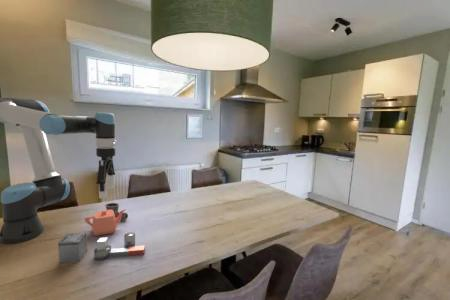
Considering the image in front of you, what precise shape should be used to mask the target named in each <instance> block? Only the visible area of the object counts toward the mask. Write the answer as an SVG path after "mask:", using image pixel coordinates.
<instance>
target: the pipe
mask: <svg viewBox="0 0 450 300" xmlns="http://www.w3.org/2000/svg"><path fill="white" fill-rule="evenodd" d="M104 206H105V210H113V211H114V214H115V217H116V218H117V217H118V216H119V213H120V211H119V206H120V204H119V203H117V202H109V203H105V205H104ZM128 218H129V215H128V213H127V212H123V213H122V216H121V220H122V221H123V220H126V221H127V219H128Z"/></svg>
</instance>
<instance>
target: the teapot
mask: <svg viewBox="0 0 450 300" xmlns="http://www.w3.org/2000/svg"><path fill="white" fill-rule="evenodd" d="M125 211H127V209H126V208H125V209H121V210H120V211H119V212H120V213H119V216H118V217H117V218H116V217H115V214H114V211H113V210H107V209H102V210H99V211H95V213H94V215H93V216H91V215H90V216H87V217H85V218H84V221H85V223H86V224H87V225H89V226H91V231H92V233H93V235H94V236H97V237H99V236H104V235H108V234H114V233H115V231H116V229H117V224H119V223H120V222H121V220H122V219H121V216H122V213H125ZM90 220H92V222H91V221H90Z"/></svg>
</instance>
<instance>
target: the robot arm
mask: <svg viewBox="0 0 450 300" xmlns="http://www.w3.org/2000/svg"><path fill="white" fill-rule="evenodd" d="M115 120H116V119H115V114H114V113H112V112H95V116H89V115H88V116H87V115H62V114H61V115H60V114H56V113H51V112H50V110H49V108H48V107H47V105H46V104H45V103H43V102H42V101H40V100H35V99H29V98H28V99H27V98H15V97H0V123H1V124H2V123H3V124H15V125H16V127H17V129H19V130H20V131H22V134H23V135H22V136H23V139H24V141H25V146H26V150H27V152H28V153H27V154H28V156H29V160H30V162H31V166H32V170H33V173H34V178H33V180H32V182H22V183H16V184H13V185H10V186H8V187H6V188H4V189H3V190H2V191H1V193H0V203H1V204H0V205H1V211H2V214H1V215H2V221H3V222H2V226H1V228H0V243H2V244H16V243H21V242H25V241H28V240H31V239H33V238H36V237H38V236H39V235H41V234H42V233H43V232H44V224H43V222H41V220H40V217H39V216H38V209H39V208H44V207H46V206H49V205H53V204H55V203H59V202H61V201H64V200H65V199H66V198H67V197H68V196H69V194H70V191H71V190H70V189H71V187H70V183H69V181H68V180H67V179H66V178H64V177H62V175H61V174H60V173H58V172H57V170H56V167H55V164H54V159H53V156H52V152H51V149H50V145H49V142H48V138H47V135H52V136H53V135H55V136H57V135H67V134H69V135H71V134H73V135H74V134H95V146H96V149H95V150H96V154H95V155H96V156H97V157H99V158H101V159H99V160H98V170H97V179H96V181H97V182H95V183H96V185H98V199H107V196H108V195H107V189H108V190H110V189H112V190H113V189H114V188H115V187H114V182H115V179H114V176H115V175H116V172H115V167H114V159H113V157H115V156H116V148H115V146H116V143H117V140H116V138H115V137H116V136H115V135H116V131H115V129H116V122H115Z"/></svg>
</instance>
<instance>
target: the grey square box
mask: <svg viewBox="0 0 450 300" xmlns="http://www.w3.org/2000/svg"><path fill="white" fill-rule="evenodd" d="M87 243H88V242H87V233H86V232H80V233H79V232H78V233H67V234H65V236H64V237H63V238H62V239H61V240H59V241H58V243H57V244H58V246H57V247H58V261H59V262H58V263H59V264H60V263H61V264H62V263H63V264H64V263H75V262H76V263H78V262H80V261H81V260H82V259H83V257H84V256H85V254H86V253H87V252H88V248H87V246H88V244H87Z"/></svg>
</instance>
